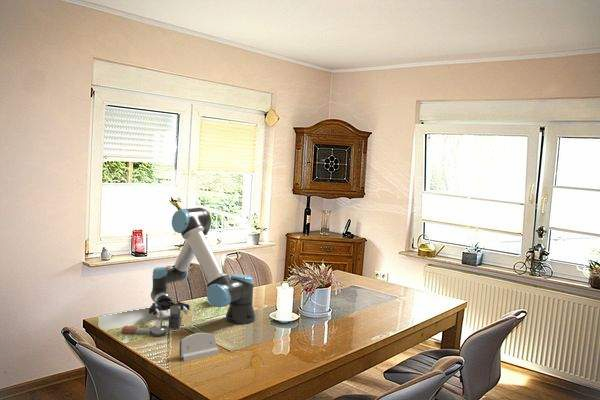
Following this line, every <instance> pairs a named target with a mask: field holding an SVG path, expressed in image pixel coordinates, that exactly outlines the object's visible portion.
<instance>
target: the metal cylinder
mask: <svg viewBox="0 0 600 400" xmlns="http://www.w3.org/2000/svg"><path fill="white" fill-rule="evenodd" d="M181 311H182V310H181V306H179V305H173V306H170V309H169V318H168V329H175V330H177V329H180V328H181V327H182V316H181Z"/></svg>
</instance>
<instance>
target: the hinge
mask: <svg viewBox="0 0 600 400" xmlns="http://www.w3.org/2000/svg"><path fill="white" fill-rule="evenodd" d="M219 354H220V352H219V348H218V345H217V342H216V338H215V335H214V334H213V333H208V332H196V333H192V334H190V335H187V336H185V337H183V338H181V339H180V340H179V342H178V357H179V359H180V358H183V362H186V361H187V362H188V361H192V360H196V359H200V358H206V357H210V356H215V355H219Z"/></svg>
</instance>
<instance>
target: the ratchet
mask: <svg viewBox="0 0 600 400" xmlns="http://www.w3.org/2000/svg"><path fill="white" fill-rule="evenodd" d="M154 323H155V324H154V325H153V326H151V327H150V328H149V327H148V328H147V327H138V326H135V325H134V326H133V325H132V326H131V325H124V326H122V327H121V334H122V335H123V334H124V335H125V334H126V335H147V336H149V335H150V336H151V337H154V338H159V337H160V338H161V337H165V336H166V335H167V327H166V326H165V325H163V320H162V319H156V320H155V321H154Z"/></svg>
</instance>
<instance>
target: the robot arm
mask: <svg viewBox="0 0 600 400" xmlns="http://www.w3.org/2000/svg"><path fill="white" fill-rule="evenodd" d="M171 226H172V229H173V231H174V232H175V233H178V234H181V237H182V239H183V240H185V242H184V244H183V247H182V248H181V250H180V252H179V254H178V256H177V259H176V260H175V263H174V265H173V267H172V268H169V269H168V268H167V267H165V266H159V267H155V268H153V270H152V288H151V291H150V299H151V301H152V302H153V303H152V304H151V306H150V307H149V308H148V314H149V315H151V314H152V316H156V317H157V318H158V319H160V318H161V312H160V311H168V310H170V306H173V305H179V306H181V311H182V312H183V313H184V314H185V316H189V314H188V313H189V312H188V311H190V304H187V303H185V302H181V301H179V300H177V301H176V302H174V301H173V300H172V298H171V297H170V296H169V295H168V293H167V291H168V290H167V289H168V285H169V284H172V283H176V282H182V281H184V280H187V278H188V277H189V270H188V269H189V266H190V265H191V263H192V260H193V259H194V257H195V258H196V260H197V262H198V263H199V266H200V268H201V270H202V272H203V274H204V276H205V278H206V281H207V283H206V287H207V289H206V298H207V299H208V300H207V302H208V301H209V302H210V303H211V304H212V305H211V304H210V305H211V306H213V307H216V308H223V307H224V308H225V307H227V306H228V309H227V311H226V314H225V320H226V322H228V323H230V324H231V323H232V324H238V325H242V324H243V325H244V324H252V323H253V322H255V321H256V313H255V310H254V307H253V303H254V302H253V299H254V278H253V277H252V276H250V275H246V274H241V273H240V274H239V273H237V274H236V273H235V274H231V275H230V276H229V275H228V274H227V273H224V272H223V269H222V267H221V264H220V263H219V262H218V259H217V257H216V256H215V253H214V252H213V250H212V248H211V247H212V246H210V244H209V242H208V240H207V237H206V235H208V233H209V232H210V231H209V230H210V229H211V226H212V217H211V214H210V213H209V211H208V210H207V209H205V208H203V207H193V208H192V207H191V208H182V209H178V210H176V211H175V212H174V213H173V215H172V218H171Z"/></svg>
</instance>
